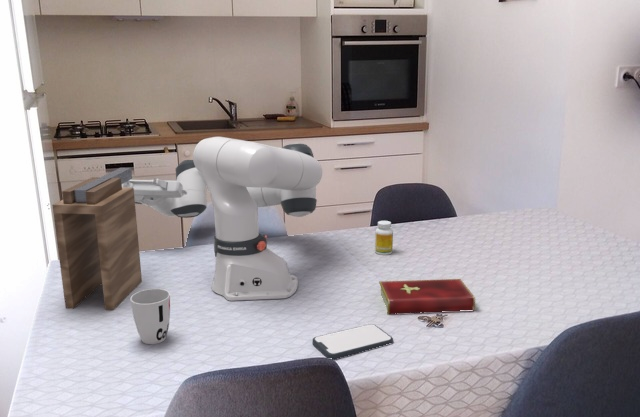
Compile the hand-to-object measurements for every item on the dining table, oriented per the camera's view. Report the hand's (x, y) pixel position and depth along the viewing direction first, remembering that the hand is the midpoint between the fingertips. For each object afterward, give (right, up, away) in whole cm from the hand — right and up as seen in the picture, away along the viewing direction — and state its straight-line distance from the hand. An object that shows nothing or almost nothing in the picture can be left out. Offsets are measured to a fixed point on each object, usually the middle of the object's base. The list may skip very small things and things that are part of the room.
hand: (139, 180), depth 173 cm
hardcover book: (+78, -32, -27) cm, 89 cm away
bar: (-2, -3, -22) cm, 23 cm away
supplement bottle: (+72, -22, +9) cm, 76 cm away
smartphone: (+60, -37, -46) cm, 84 cm away
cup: (+16, -37, -44) cm, 60 cm away
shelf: (-2, -30, -21) cm, 37 cm away
